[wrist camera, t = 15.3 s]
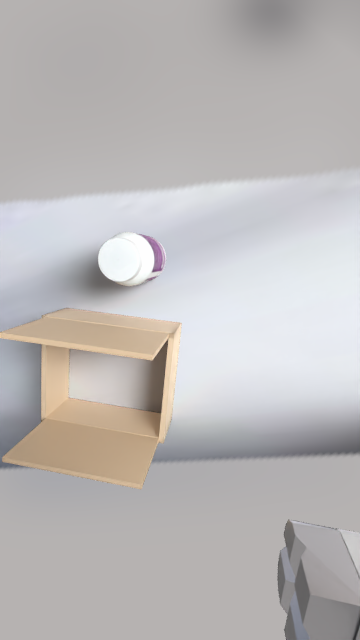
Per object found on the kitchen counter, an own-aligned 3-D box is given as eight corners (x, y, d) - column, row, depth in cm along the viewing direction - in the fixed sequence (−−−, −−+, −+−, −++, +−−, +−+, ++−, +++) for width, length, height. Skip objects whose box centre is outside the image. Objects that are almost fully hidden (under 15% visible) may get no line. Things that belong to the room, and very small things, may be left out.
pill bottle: (137, 227, 37) (107, 216, 27) (175, 251, 37) (157, 249, 27) (116, 266, 38) (80, 268, 29) (152, 289, 38) (128, 300, 29)
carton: (181, 322, 38) (160, 355, 26) (171, 419, 41) (147, 491, 28) (66, 307, 40) (-7, 331, 27) (64, 401, 43) (-4, 461, 30)
